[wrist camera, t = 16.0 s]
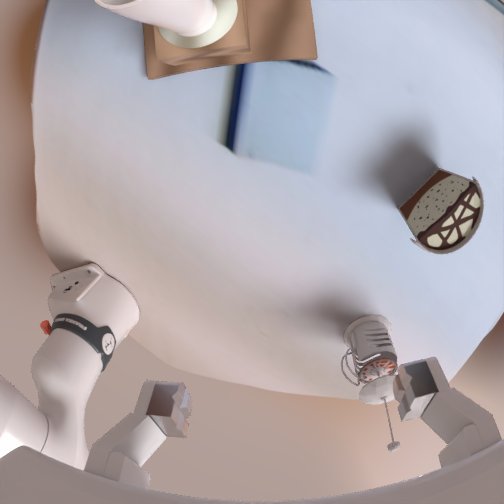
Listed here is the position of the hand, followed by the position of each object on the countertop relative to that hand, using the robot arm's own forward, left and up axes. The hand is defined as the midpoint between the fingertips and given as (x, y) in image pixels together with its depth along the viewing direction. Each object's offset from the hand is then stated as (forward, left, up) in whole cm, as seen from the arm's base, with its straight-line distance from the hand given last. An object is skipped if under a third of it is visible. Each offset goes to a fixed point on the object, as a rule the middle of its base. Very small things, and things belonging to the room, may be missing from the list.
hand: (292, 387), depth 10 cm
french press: (+14, -31, -33) cm, 47 cm away
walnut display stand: (-6, +23, -33) cm, 41 cm away
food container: (+22, -5, -33) cm, 40 cm away
